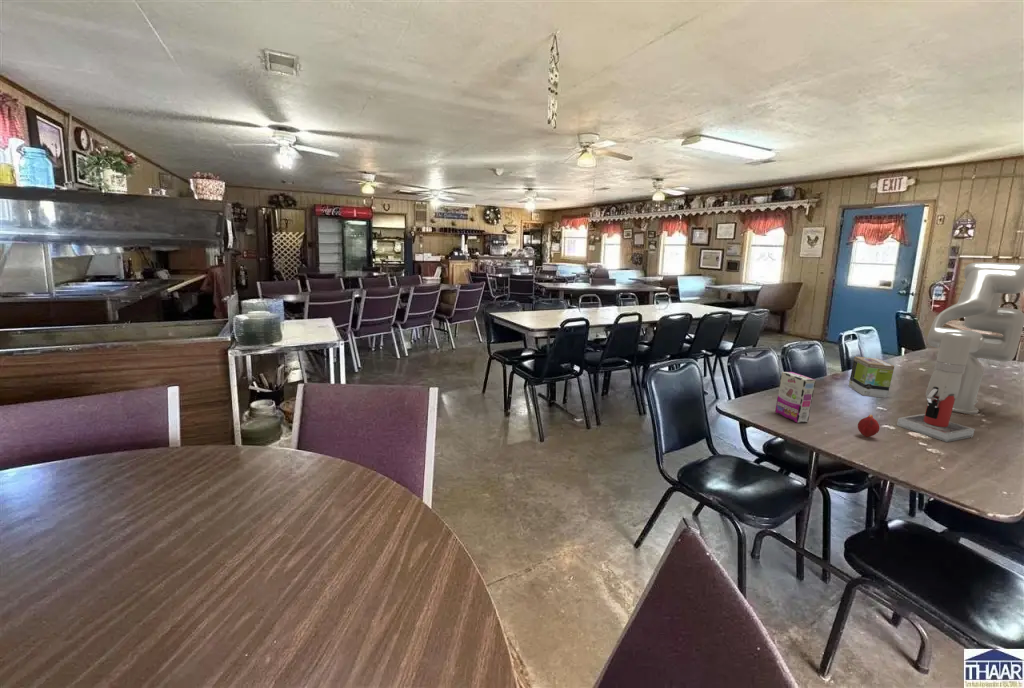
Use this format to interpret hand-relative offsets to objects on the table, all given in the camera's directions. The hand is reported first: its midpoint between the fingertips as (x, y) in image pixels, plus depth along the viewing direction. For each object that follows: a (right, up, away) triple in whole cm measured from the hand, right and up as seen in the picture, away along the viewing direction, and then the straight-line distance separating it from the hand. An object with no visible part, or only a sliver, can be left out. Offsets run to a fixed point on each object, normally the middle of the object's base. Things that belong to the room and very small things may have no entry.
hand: (937, 415), depth 162 cm
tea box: (+10, +3, +45) cm, 47 cm away
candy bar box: (-46, -2, +10) cm, 47 cm away
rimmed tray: (0, -6, +1) cm, 6 cm away
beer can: (0, -3, +1) cm, 3 cm away
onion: (-30, -6, -6) cm, 31 cm away
